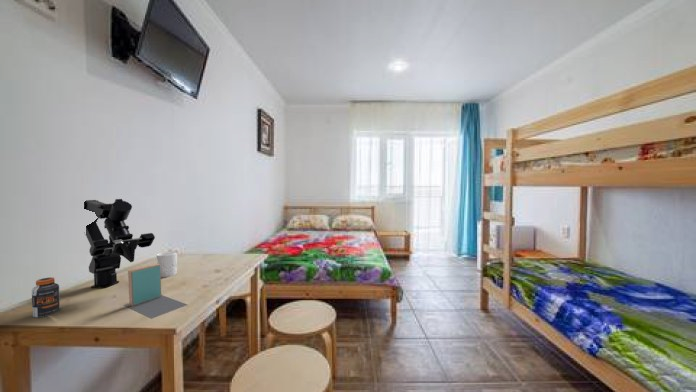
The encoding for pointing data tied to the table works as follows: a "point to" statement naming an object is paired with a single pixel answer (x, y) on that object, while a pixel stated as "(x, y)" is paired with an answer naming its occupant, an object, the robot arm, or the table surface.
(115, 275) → the robot arm
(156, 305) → the mat
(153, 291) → the tile
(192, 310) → the table surface
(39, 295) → the pill bottle
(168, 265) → the white cup
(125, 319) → the table surface
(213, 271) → the table surface
